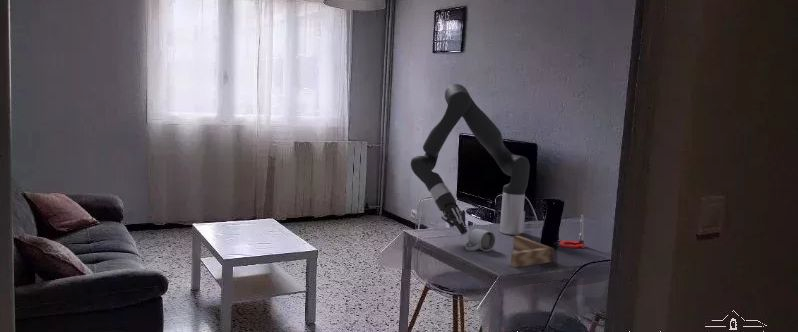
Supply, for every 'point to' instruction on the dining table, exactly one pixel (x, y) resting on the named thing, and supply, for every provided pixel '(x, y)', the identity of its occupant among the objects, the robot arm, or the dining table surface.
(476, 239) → the ceramic mug
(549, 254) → the corner walls
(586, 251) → the dining table surface
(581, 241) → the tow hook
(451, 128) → the robot arm
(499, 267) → the dining table surface
